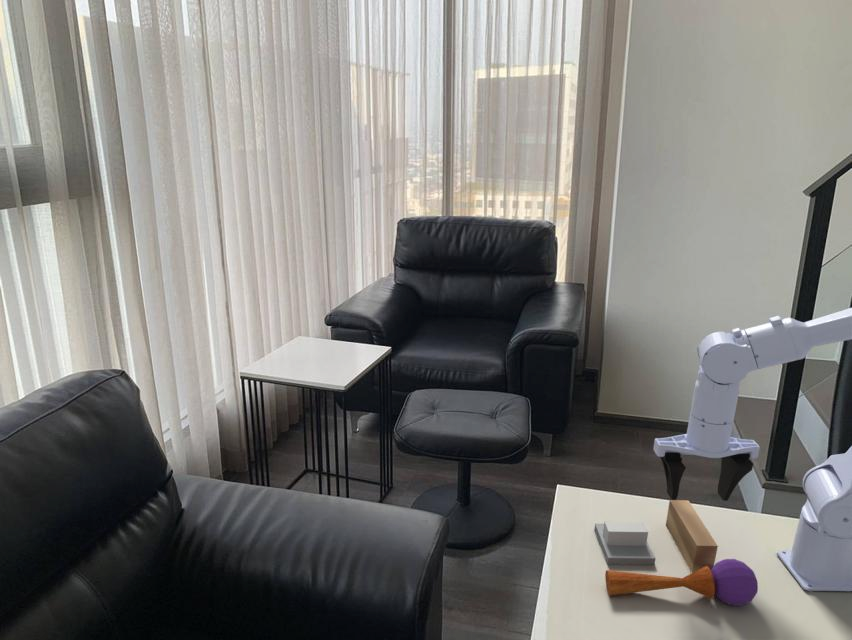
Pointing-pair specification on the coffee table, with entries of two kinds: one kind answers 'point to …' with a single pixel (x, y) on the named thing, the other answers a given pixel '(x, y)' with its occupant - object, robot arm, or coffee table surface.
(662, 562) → the coffee table surface
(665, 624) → the coffee table surface
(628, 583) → the kendama
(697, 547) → the oak bar
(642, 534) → the balance stand
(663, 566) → the coffee table surface
